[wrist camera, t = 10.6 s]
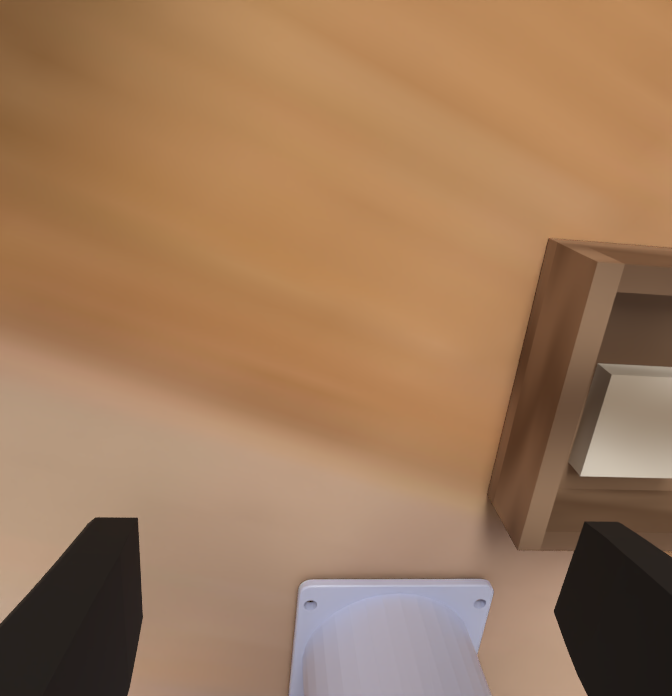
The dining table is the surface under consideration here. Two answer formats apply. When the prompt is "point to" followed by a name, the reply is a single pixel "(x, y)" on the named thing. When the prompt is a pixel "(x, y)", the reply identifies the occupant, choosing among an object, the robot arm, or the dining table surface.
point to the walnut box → (591, 400)
